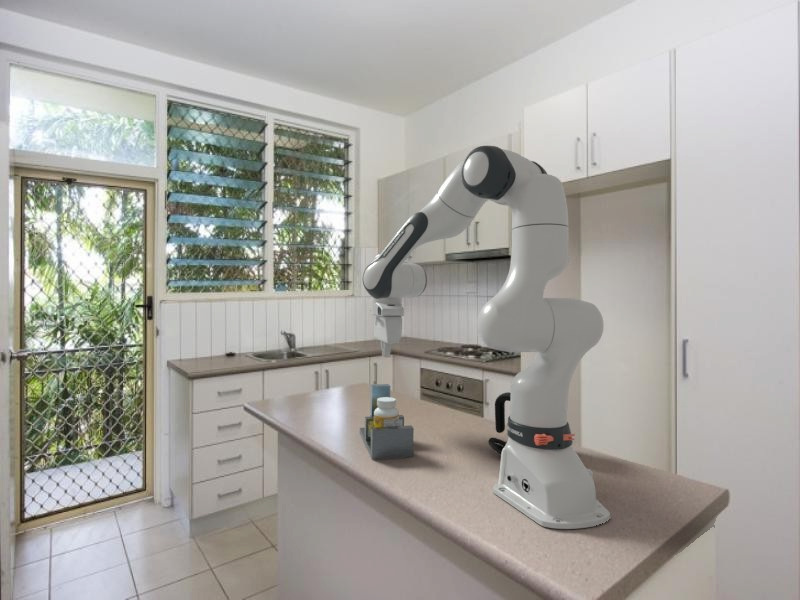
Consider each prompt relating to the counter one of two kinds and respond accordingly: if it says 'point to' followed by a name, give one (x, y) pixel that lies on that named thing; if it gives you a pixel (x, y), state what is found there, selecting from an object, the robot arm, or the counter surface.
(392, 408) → the supplement bottle
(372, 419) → the sliding jaw
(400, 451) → the vise base
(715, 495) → the counter surface
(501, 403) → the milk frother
